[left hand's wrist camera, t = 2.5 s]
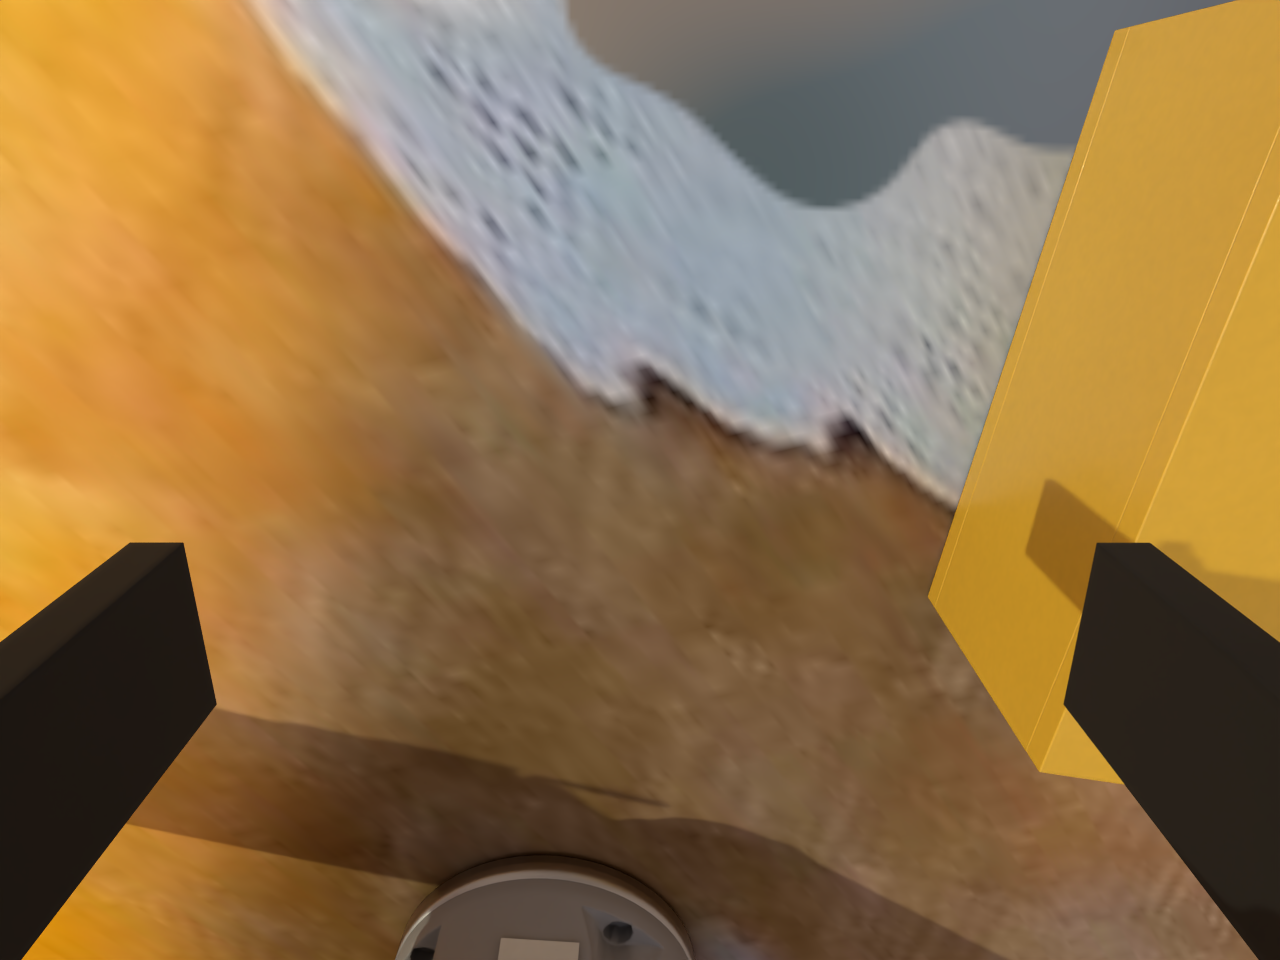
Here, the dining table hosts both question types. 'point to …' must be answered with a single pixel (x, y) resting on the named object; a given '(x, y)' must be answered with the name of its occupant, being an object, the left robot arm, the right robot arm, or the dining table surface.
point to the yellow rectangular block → (1135, 371)
